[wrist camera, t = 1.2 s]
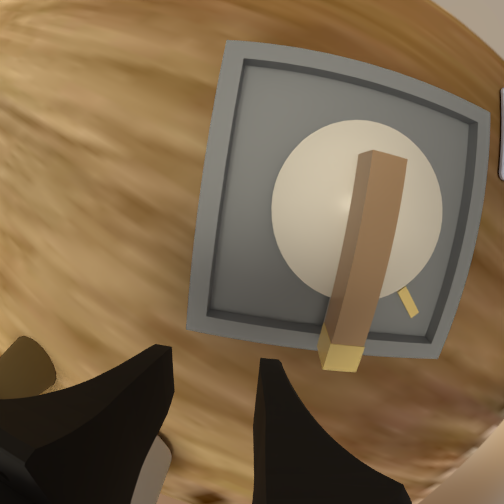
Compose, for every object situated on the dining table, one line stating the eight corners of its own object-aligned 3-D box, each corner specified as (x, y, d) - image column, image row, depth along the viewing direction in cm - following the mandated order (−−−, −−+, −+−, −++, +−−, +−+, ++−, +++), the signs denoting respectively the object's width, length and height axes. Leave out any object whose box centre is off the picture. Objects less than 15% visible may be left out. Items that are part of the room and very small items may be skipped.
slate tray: (473, 117, 16) (490, 112, 14) (426, 344, 20) (437, 358, 18) (231, 53, 17) (226, 40, 15) (194, 315, 21) (186, 329, 19)
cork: (37, 389, 25) (-18, 446, 14) (8, 343, 24) (-56, 391, 13) (65, 381, 24) (4, 449, 13) (32, 329, 23) (-42, 385, 12)
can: (93, 421, 25) (40, 500, 13) (140, 408, 23) (86, 508, 12) (138, 466, 26) (103, 545, 14) (188, 457, 25) (159, 554, 13)
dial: (436, 149, 16) (476, 144, 12) (393, 339, 19) (417, 374, 15) (285, 111, 16) (289, 88, 12) (251, 322, 19) (245, 359, 15)
